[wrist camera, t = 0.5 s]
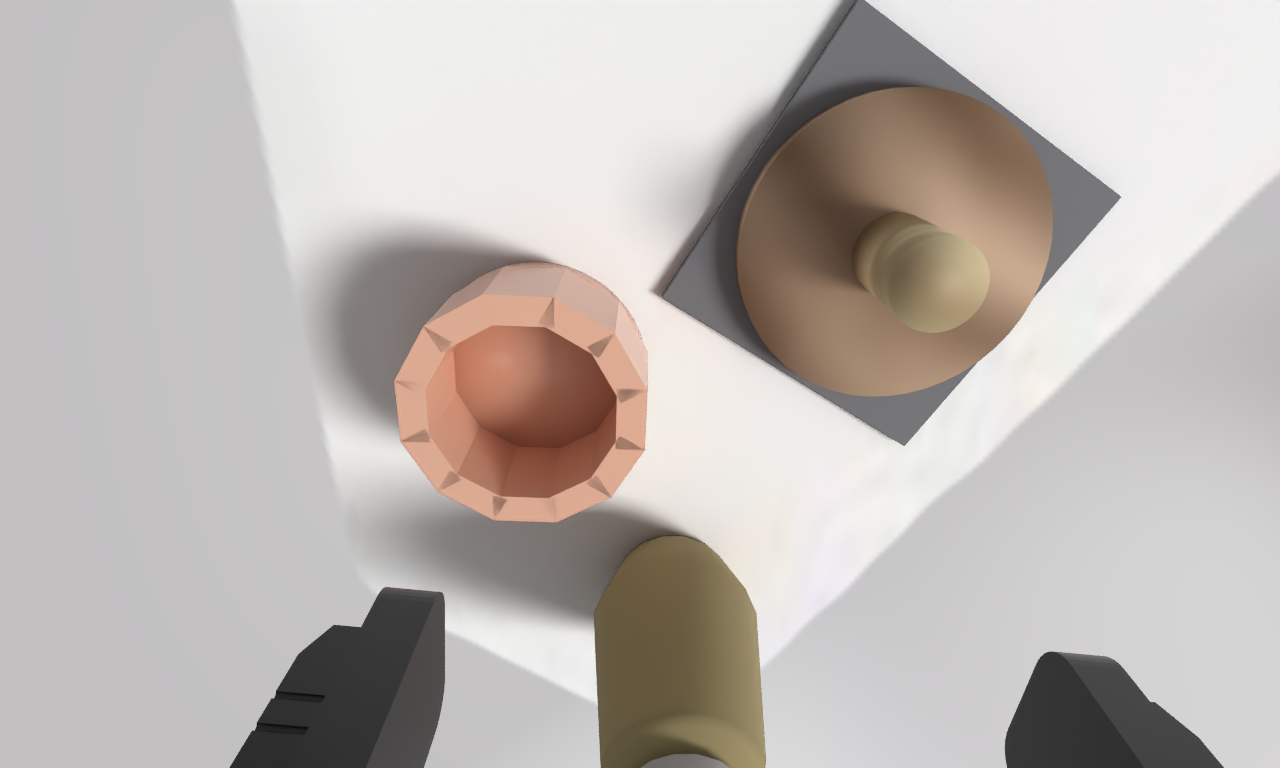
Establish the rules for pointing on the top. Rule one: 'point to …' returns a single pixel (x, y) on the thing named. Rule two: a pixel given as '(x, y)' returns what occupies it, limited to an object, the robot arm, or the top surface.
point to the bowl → (526, 394)
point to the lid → (894, 240)
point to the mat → (847, 67)
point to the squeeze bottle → (678, 662)
